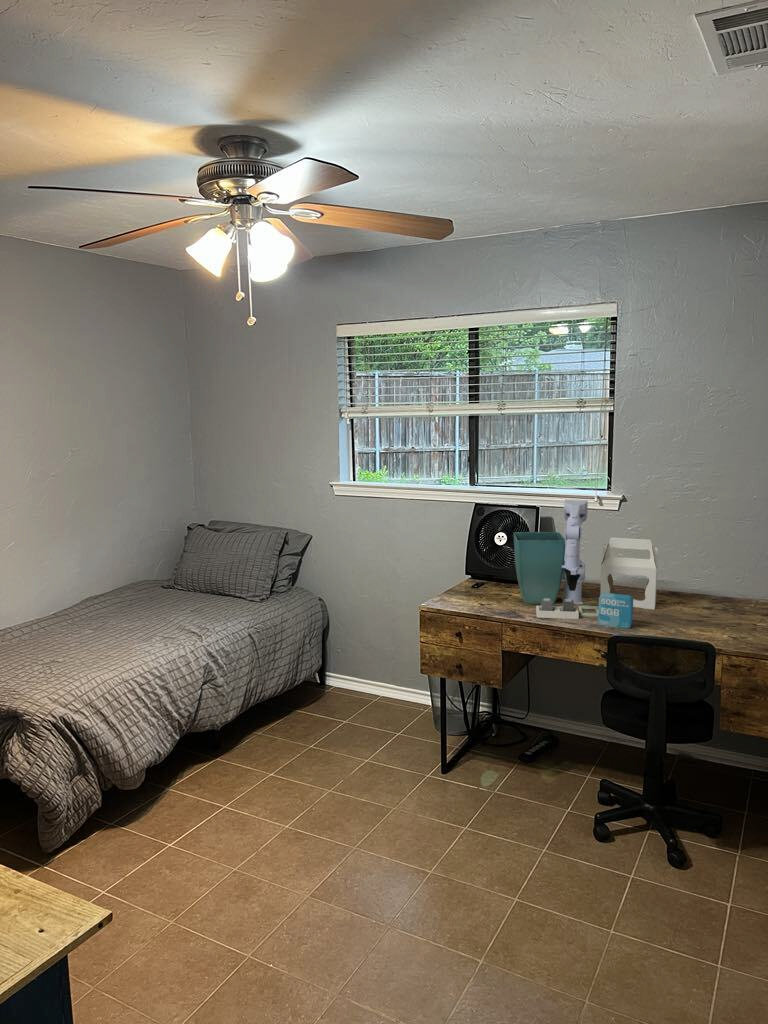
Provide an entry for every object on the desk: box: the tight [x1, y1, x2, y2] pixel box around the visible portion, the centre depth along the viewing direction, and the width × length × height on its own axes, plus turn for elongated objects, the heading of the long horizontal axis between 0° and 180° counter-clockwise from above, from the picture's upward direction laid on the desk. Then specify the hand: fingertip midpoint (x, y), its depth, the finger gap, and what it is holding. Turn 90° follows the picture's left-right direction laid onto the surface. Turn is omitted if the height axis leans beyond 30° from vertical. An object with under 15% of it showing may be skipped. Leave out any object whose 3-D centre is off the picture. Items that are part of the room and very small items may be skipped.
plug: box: [562, 599, 575, 612], centre depth 299 cm, size 4×4×6 cm
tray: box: [577, 605, 599, 617], centre depth 304 cm, size 11×11×1 cm
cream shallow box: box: [535, 605, 580, 620], centre depth 300 cm, size 8×16×4 cm, turn 81°
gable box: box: [599, 536, 659, 611], centre depth 316 cm, size 22×13×28 cm, turn 69°
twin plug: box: [540, 598, 553, 611], centre depth 300 cm, size 4×4×6 cm
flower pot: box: [513, 531, 566, 605], centre depth 322 cm, size 20×20×28 cm
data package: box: [597, 593, 634, 630], centre depth 286 cm, size 12×4×12 cm, turn 63°
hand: (571, 588), depth 305 cm, fingers open, 7 cm apart
